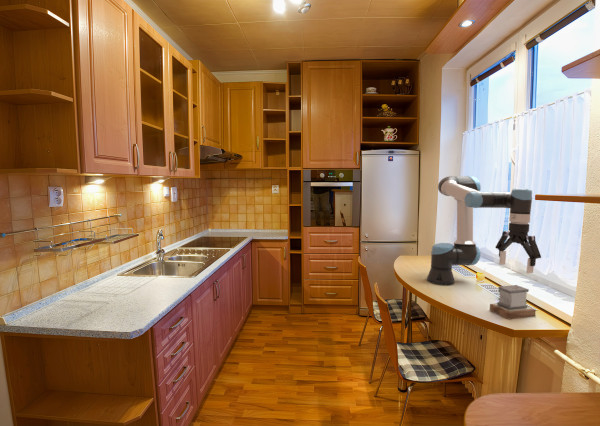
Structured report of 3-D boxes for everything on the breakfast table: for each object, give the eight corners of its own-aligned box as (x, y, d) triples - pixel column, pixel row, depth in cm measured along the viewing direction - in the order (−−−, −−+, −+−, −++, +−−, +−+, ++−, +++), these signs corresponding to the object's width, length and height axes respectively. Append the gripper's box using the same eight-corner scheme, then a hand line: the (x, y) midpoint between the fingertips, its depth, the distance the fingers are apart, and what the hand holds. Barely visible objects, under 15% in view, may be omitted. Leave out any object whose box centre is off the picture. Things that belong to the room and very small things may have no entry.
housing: (497, 304, 141) (498, 286, 140) (514, 302, 143) (516, 285, 142) (508, 309, 135) (510, 291, 134) (527, 307, 137) (528, 289, 136)
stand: (489, 310, 142) (490, 303, 142) (514, 307, 146) (515, 300, 146) (508, 319, 133) (509, 312, 132) (535, 316, 136) (535, 309, 136)
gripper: (489, 219, 146) (485, 261, 148) (540, 227, 122) (535, 277, 124) (501, 219, 148) (498, 260, 150) (554, 226, 124) (549, 276, 126)
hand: (515, 268), depth 137 cm, fingers open, 13 cm apart
